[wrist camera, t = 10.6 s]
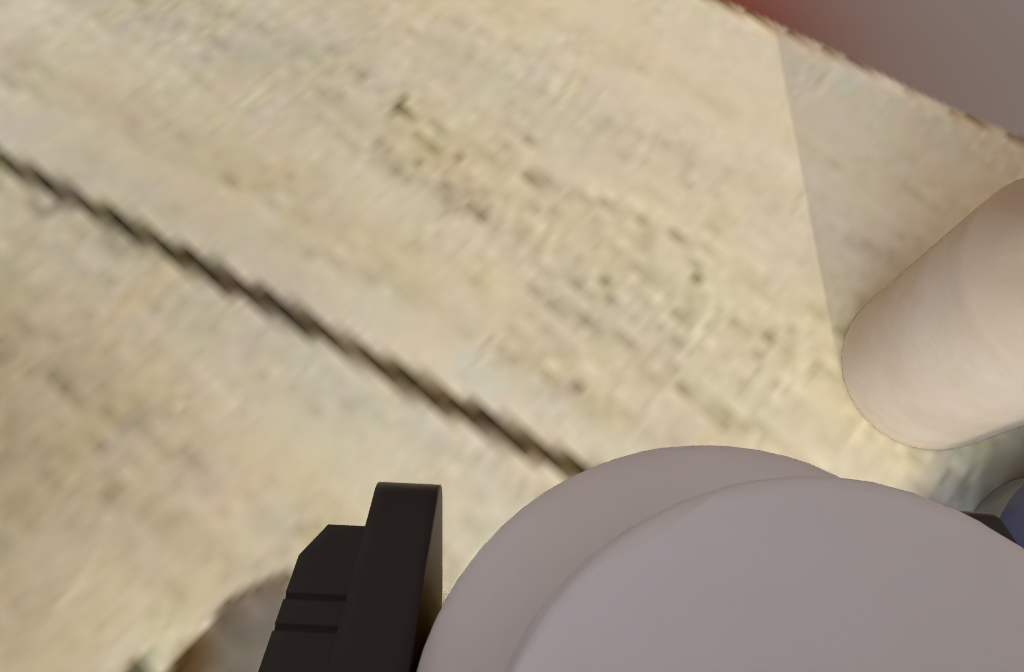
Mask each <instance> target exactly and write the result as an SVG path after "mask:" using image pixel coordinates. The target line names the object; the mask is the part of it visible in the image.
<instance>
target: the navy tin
mask: <svg viewBox="0 0 1024 672" xmlns="http://www.w3.org/2000/svg"><path fill="white" fill-rule="evenodd" d="M975 512H986V513H992V514H994V515H996V516H997V517H998V518H1000V520H1001V521H1002V522H1003V523H1004V525H1005V526H1006V528H1007V529H1008V531H1009V532H1010V534H1011V535H1012V537H1013V538H1014V539H1015V541H1016V542H1017V544H1018V545H1019V546H1021V547H1022V548H1023V549H1024V477H1023V478H1020V479H1016V480H1013V481H1011V482H1009V483H1006V484H1004V485H1002V486H1001V487H999V488H998V489H996V490H995V491H993V492H992V493H991V494H990V495H988V496H987V497H986V498H985V499H984V500H983V501H982V502H981V504H980V505H979V506H978V507H977V509H976V510H975Z"/></svg>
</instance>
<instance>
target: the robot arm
mask: <svg viewBox="0 0 1024 672" xmlns="http://www.w3.org/2000/svg"><path fill="white" fill-rule="evenodd" d="M960 512H962V513H964V514H966V515H968V516H970V517H972V518H974V519H976V520H978V521H980V522H981V523H983V524H984V525H986V526H987V527H989V528H990V529H992V530H994V531H995V532H997V533H999V534H1000V535H1002V536H1004V537H1005V538H1007V539H1009V540H1010V541H1012V542H1014V543H1015V544H1017V542H1016V541H1015V539H1014V538H1013V537H1012V535H1011V534H1010V532H1009V531H1008V529H1007V528H1006V526H1005V525H1004V523H1003V522H1002V521H1001V520H1000V518H998V517H997V516H996V515H994V514H992V513H986V512H965V511H960ZM1017 545H1018V544H1017ZM441 607H442V487H441V485H434V484H413V483H392V482H378V483H377V485H376V488H375V491H374V495H373V499H372V503H371V506H370V510H369V514H368V518H367V522H366V525H365V526H349V525H327V526H326V527H325V528H324V529H323V531H322V532H321V533H320V534H319V535H318V536H317V537H316V538H315V539H314V540H313V541H312V542H311V543H310V544H309V545H308V546H307V547H306V548H305V549H304V550H303V551H302V552H301V553H300V555H299V556H298V559H297V562H296V565H295V568H294V571H293V574H292V576H291V579H290V582H289V585H288V588H287V591H286V598H285V599H283V602H282V605H281V608H280V611H279V614H278V617H277V619H276V622H275V630H274V631H272V634H271V637H270V640H269V642H268V645H267V648H266V651H265V654H264V657H263V660H262V663H261V665H260V668H259V671H258V672H416V671H417V668H418V665H419V661H420V658H421V655H422V652H423V649H424V646H425V644H426V641H427V639H428V637H429V634H430V632H431V629H432V627H433V625H434V622H435V620H436V618H437V616H438V614H439V612H440V610H441Z"/></svg>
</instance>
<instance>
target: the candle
mask: <svg viewBox="0 0 1024 672" xmlns="http://www.w3.org/2000/svg"><path fill="white" fill-rule="evenodd" d="M842 371H843V376H844V381H845V384H846V387H847V390H848V392H849V394H850V396H851V398H852V400H853V402H854V403H855V405H856V407H857V408H858V410H859V411H860V412H861V413H862V415H863V416H864V417H865V418H866V419H867V420H868V421H869V422H870V423H871V424H872V425H873V426H874V427H875V428H877V429H878V430H879V431H881V432H882V433H883V434H885V435H887V436H888V437H890V438H892V439H894V440H896V441H898V442H900V443H902V444H905V445H909V446H912V447H916V448H921V449H930V450H945V449H954V448H959V447H964V446H967V445H970V444H973V443H976V442H979V441H982V440H985V439H987V438H990V437H993V436H996V435H998V434H1001V433H1004V432H1007V431H1010V430H1012V429H1015V428H1018V427H1021V426H1023V425H1024V178H1023V179H1020V180H1017V181H1015V182H1013V183H1011V184H1009V185H1007V186H1005V187H1003V188H1001V189H1000V190H999V191H997V192H996V193H994V194H993V195H992V196H990V197H989V198H988V199H987V200H986V201H985V202H983V203H982V204H981V205H980V206H979V207H978V208H976V209H975V210H974V211H973V212H972V213H971V214H969V215H968V216H967V217H966V218H965V219H964V220H963V221H961V222H960V223H959V224H958V225H957V226H956V227H954V228H953V229H952V230H951V231H950V232H949V233H948V234H946V235H945V236H944V237H943V238H942V239H941V240H939V241H938V242H937V243H936V244H935V245H934V246H933V247H931V248H930V249H929V250H928V251H927V252H926V253H924V254H923V255H922V256H921V257H920V258H919V259H918V260H916V261H915V262H914V263H913V264H912V265H911V266H909V267H908V268H907V269H906V270H905V271H904V272H903V273H901V274H900V275H899V276H898V277H897V278H896V279H894V280H893V281H892V282H891V283H890V284H889V285H888V286H886V287H885V288H884V289H883V290H882V291H881V292H879V293H878V294H877V295H876V296H875V297H874V298H873V299H872V300H871V301H870V302H869V303H868V304H867V305H866V306H864V307H863V308H862V309H861V311H860V312H859V313H858V314H857V316H856V317H855V319H854V320H853V322H852V324H851V326H850V327H849V329H848V332H847V334H846V337H845V340H844V344H843V349H842Z"/></svg>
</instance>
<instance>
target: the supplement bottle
mask: <svg viewBox="0 0 1024 672" xmlns="http://www.w3.org/2000/svg"><path fill="white" fill-rule="evenodd" d="M416 672H1024V549H1023V548H1022V547H1021V546H1019V545H1017V544H1015V543H1014V542H1012V541H1010V540H1009V539H1007V538H1005V537H1004V536H1002V535H1000V534H999V533H997V532H995V531H994V530H992V529H990V528H989V527H987V526H986V525H984V524H983V523H981V522H980V521H978V520H976V519H974V518H972V517H970V516H968V515H966V514H964V513H962V512H960V511H957V510H955V509H953V508H950V507H948V506H945V505H942V504H939V503H937V502H934V501H931V500H929V499H926V498H924V497H921V496H919V495H916V494H914V493H911V492H907V491H904V490H900V489H896V488H892V487H889V486H885V485H881V484H877V483H874V482H868V481H860V480H852V479H845V478H840V477H838V476H836V475H833V474H831V473H829V472H827V471H825V470H822V469H820V468H818V467H816V466H814V465H811V464H809V463H806V462H803V461H799V460H796V459H793V458H790V457H787V456H783V455H778V454H774V453H769V452H764V451H760V450H753V449H746V448H738V447H730V446H682V447H670V448H659V449H653V450H648V451H643V452H639V453H635V454H632V455H628V456H624V457H621V458H617V459H614V460H611V461H608V462H605V463H603V464H600V465H598V466H595V467H592V468H590V469H588V470H586V471H584V472H582V473H579V474H577V475H575V476H573V477H571V478H569V479H567V480H565V481H563V482H562V483H560V484H558V485H557V486H555V487H553V488H551V489H550V490H548V491H546V492H545V493H543V494H542V495H540V496H539V497H538V498H536V499H535V500H533V501H532V502H531V503H529V504H528V505H526V506H525V507H524V508H522V509H521V510H520V511H519V512H518V513H517V514H515V515H514V516H513V517H512V518H511V519H510V520H509V521H508V522H506V523H505V524H504V525H503V526H502V527H501V528H500V529H499V530H498V531H497V532H496V533H495V534H494V535H493V536H492V538H491V539H490V540H489V541H488V542H487V543H486V544H485V545H484V546H483V547H482V548H481V549H480V550H479V552H478V553H477V554H476V556H475V557H474V558H473V560H472V561H471V562H470V564H469V565H468V566H467V568H466V569H465V570H464V572H463V573H462V574H461V576H460V577H459V578H458V580H457V582H456V583H455V585H454V587H453V589H452V590H451V592H450V594H449V596H448V597H447V599H446V601H445V602H444V604H443V606H442V608H441V610H440V612H439V614H438V616H437V618H436V620H435V622H434V625H433V627H432V629H431V632H430V634H429V637H428V639H427V641H426V644H425V646H424V649H423V652H422V655H421V658H420V661H419V665H418V668H417V671H416Z"/></svg>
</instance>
